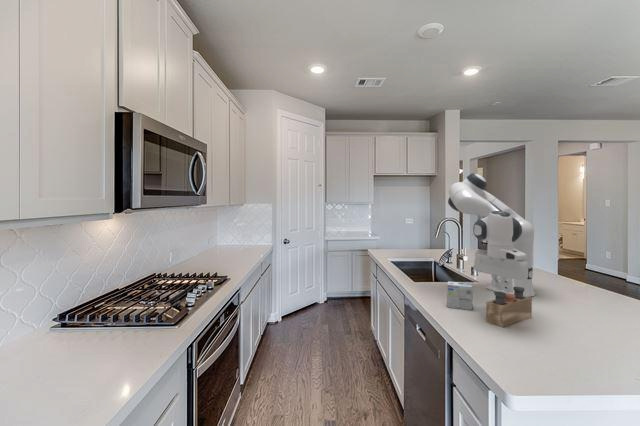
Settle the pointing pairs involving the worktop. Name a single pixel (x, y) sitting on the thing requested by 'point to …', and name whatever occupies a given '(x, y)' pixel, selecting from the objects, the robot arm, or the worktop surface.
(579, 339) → the worktop surface
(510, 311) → the oak socket block
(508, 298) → the plug mid
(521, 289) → the plug far
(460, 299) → the light bulb box
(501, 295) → the plug near
